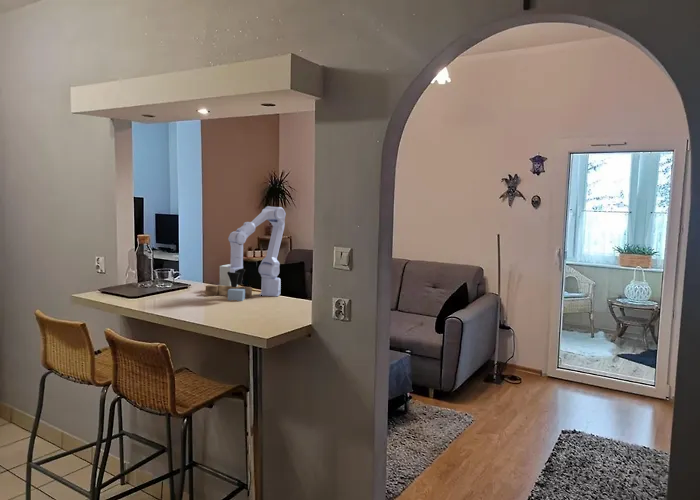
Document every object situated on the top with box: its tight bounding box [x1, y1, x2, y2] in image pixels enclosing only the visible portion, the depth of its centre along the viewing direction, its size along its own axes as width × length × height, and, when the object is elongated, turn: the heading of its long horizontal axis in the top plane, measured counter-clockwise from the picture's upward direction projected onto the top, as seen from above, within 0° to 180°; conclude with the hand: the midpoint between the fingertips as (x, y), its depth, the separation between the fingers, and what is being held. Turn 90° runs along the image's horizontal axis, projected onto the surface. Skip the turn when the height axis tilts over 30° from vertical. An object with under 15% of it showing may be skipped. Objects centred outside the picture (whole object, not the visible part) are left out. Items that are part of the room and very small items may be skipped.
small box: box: [219, 263, 239, 286], centre depth 276 cm, size 8×6×13 cm
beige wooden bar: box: [205, 284, 253, 298], centre depth 263 cm, size 22×4×4 cm, turn 86°
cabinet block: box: [226, 288, 246, 302], centre depth 254 cm, size 8×4×5 cm, turn 86°
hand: (236, 285), depth 253 cm, fingers open, 7 cm apart
